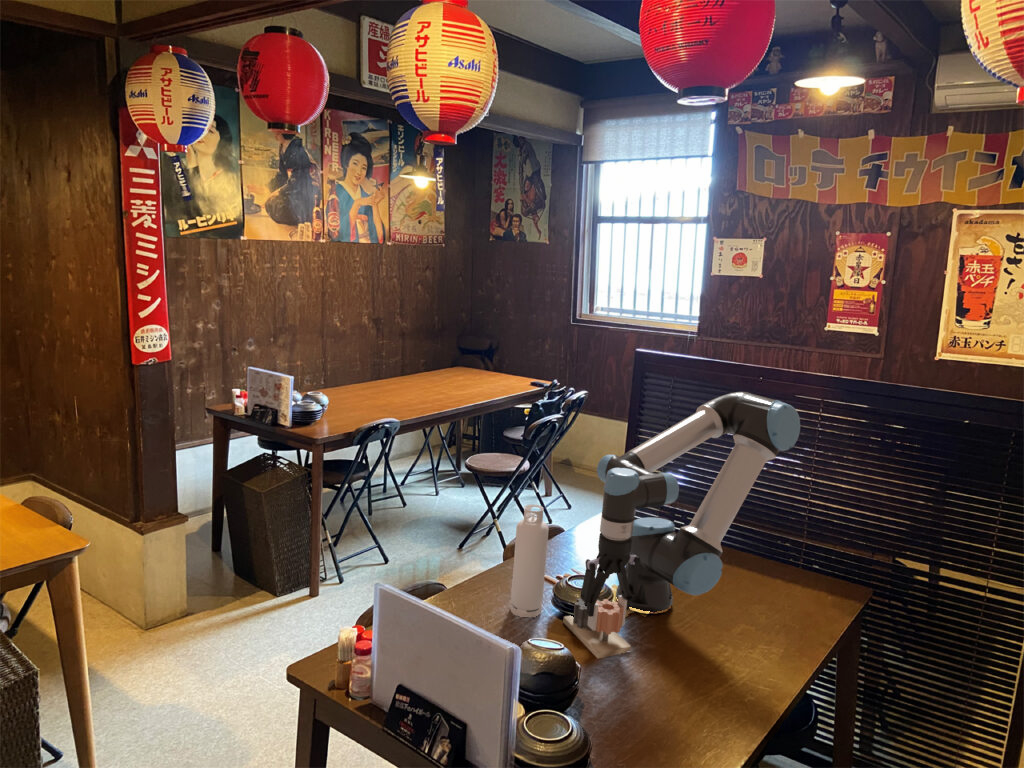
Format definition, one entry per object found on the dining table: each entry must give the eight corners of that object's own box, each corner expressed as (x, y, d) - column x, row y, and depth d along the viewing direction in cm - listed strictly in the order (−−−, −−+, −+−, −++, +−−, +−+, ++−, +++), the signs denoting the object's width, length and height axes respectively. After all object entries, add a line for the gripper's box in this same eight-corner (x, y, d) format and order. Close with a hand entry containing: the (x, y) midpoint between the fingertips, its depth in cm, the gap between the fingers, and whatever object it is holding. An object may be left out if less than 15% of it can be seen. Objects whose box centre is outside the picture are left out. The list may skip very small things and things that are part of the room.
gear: (610, 616, 180) (612, 597, 179) (626, 631, 173) (629, 611, 172) (585, 620, 177) (587, 601, 176) (600, 636, 170) (602, 616, 169)
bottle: (545, 606, 193) (554, 505, 187) (536, 621, 185) (544, 516, 180) (516, 599, 195) (523, 500, 190) (506, 613, 188) (513, 510, 182)
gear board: (594, 616, 189) (596, 588, 188) (630, 652, 174) (633, 621, 173) (563, 622, 186) (565, 592, 184) (597, 658, 170) (600, 627, 169)
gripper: (586, 545, 163) (576, 639, 168) (661, 536, 171) (650, 626, 176) (570, 532, 170) (561, 623, 174) (642, 524, 178) (632, 611, 183)
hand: (605, 625), depth 175 cm, fingers closed on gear, 7 cm apart
